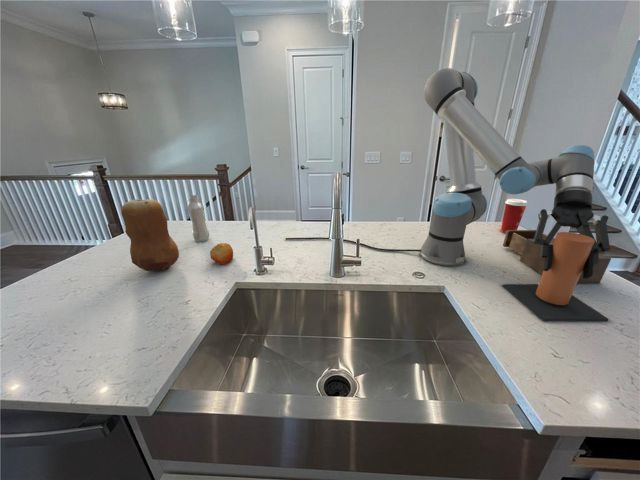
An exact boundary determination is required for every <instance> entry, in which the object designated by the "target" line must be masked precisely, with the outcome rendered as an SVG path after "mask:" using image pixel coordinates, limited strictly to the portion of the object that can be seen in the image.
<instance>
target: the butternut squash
mask: <svg viewBox="0 0 640 480" xmlns="http://www.w3.org/2000/svg"><path fill="white" fill-rule="evenodd" d="M120 213H121V216H122V219H123V222H124V226H125V235H127V237H128V238H129V239H130V247H129V253H130V258H131V263H132V264H134V266H136V267H138V268H139V269H141V270H143V271H146V272H154V271H158V272H163V271H164V270H168V269H169V268H170V267H171V266H174V264H175V263H176V262H177V261H178V259H179V256H180V252H179V248H178V245H177V242H176V241H175V240H174V239H173V237H172V236H171V235H170V233H169V229H168V228H169V227H168V219H167V217H166V216H167V215H166V213H165V210H164V208H163V206H162V204H161V203H160V202H159V201H158V200H156V199H152V198H151V199H140V198H138V199H137V198H136V199H131V200H129V201H126V202H125V203H124V204H123V205H122V207H121V212H120Z"/></svg>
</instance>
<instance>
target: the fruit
mask: <svg viewBox="0 0 640 480" xmlns="http://www.w3.org/2000/svg"><path fill="white" fill-rule="evenodd" d="M209 255H210V259H211V260H212V261H213V262H214V263H216V264H219V265H228V264H230V263H231V262H232V261H233V259H234V249H233V248H232V245H231V244H230V243H227V242H220V243H217V244H216V245H214V246H213V247H212V248H211V250H210V251H209Z"/></svg>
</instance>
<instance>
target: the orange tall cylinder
mask: <svg viewBox="0 0 640 480" xmlns="http://www.w3.org/2000/svg"><path fill="white" fill-rule="evenodd" d="M554 239H555V240H554V243H553V253H552V263H551V268H550V269H549V270H548V271H543V274H541V276H540V279H539V282H538V284H539V285H538V287H537V290H536V295H537V296H538V297H539V298H540V299H542V300H544V301H546V302H549V303H552V304H556V305H567V304H568V303H569V301H570V298H571V296H572V295H573V293H574V291H575V289H576V287H577V284H578V283H577V282H578V280H579V277H580V275H581V273H582V270H583V268H584V266H585V263H586V261H587V259H588V256H589V254H590V252H591V249H592V247H593V245H594V242H595V240H596V239H595V240H594V239H593V238H591V237H588V236H585V235H582V234H579V233H578V232H577V233H576V232H571V231H560V232H559V231H558V232H557V233H556V235H555V238H554Z"/></svg>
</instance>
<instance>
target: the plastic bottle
mask: <svg viewBox="0 0 640 480" xmlns="http://www.w3.org/2000/svg"><path fill="white" fill-rule="evenodd" d="M188 202H189V204H188V205H187V209H186V210H187V213H188V216H189V218H190V222H191V227H192V237H193V239H194V241H196V242H204V241H207V240H209V239H210V232H209V229H208V226H207V223H206V217H205V207H204V205H203V203H201V202H200V198H199V195H197V194H194V195H193V194H192V195H189V196H188Z"/></svg>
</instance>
